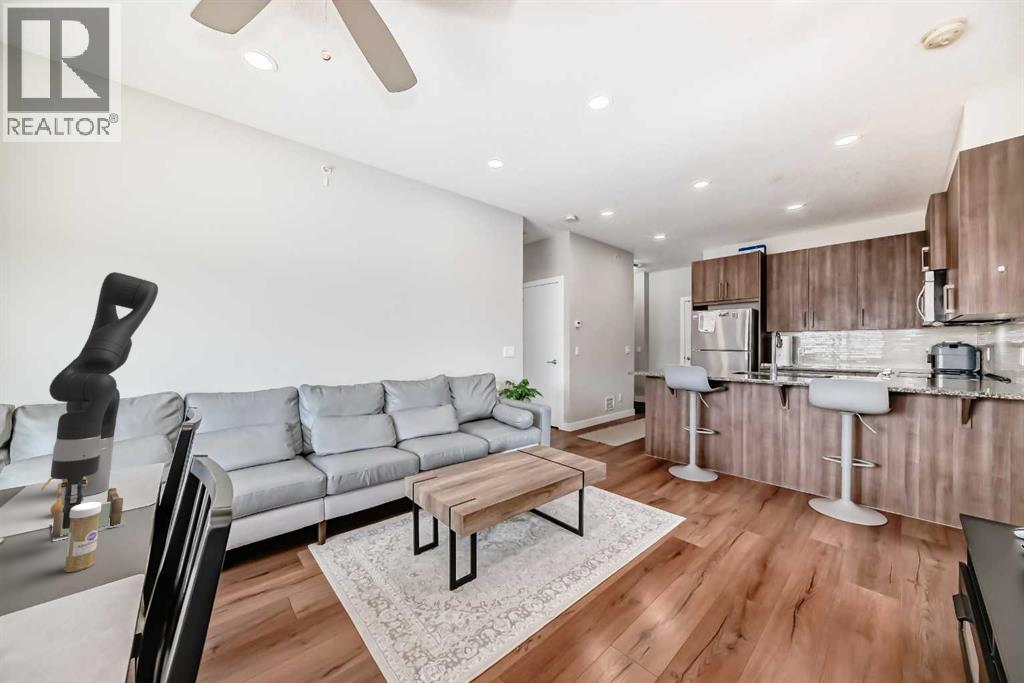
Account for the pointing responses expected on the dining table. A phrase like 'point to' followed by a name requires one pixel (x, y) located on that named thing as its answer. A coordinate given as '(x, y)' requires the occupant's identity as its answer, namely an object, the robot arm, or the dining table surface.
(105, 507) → the swing panel
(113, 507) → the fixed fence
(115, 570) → the dining table surface
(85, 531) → the sprinkles bottle
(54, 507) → the figurine
